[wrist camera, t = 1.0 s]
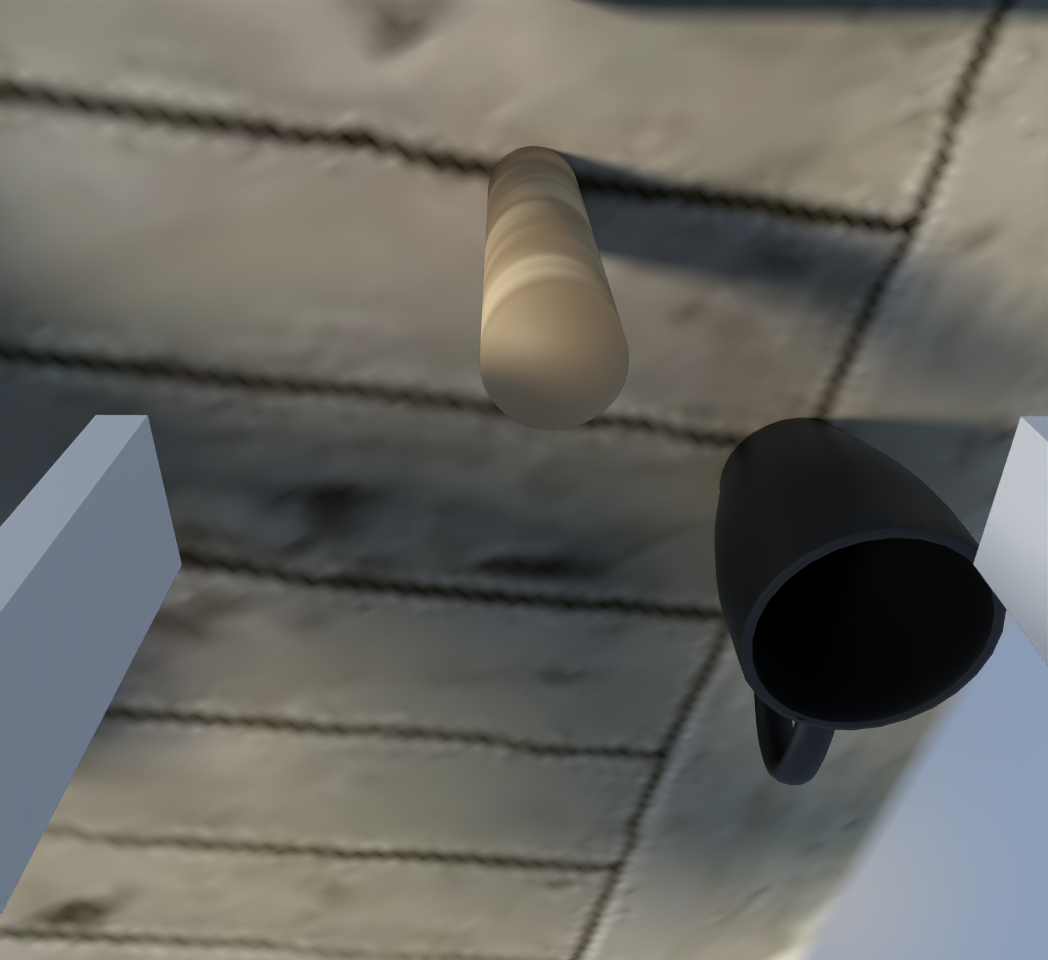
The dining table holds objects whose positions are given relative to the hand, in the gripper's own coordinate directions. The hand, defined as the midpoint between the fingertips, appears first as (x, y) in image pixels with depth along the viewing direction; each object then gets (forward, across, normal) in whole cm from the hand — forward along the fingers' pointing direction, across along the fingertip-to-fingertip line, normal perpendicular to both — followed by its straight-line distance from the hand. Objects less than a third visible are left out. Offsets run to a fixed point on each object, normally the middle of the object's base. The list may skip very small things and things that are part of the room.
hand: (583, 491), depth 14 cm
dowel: (+19, 0, 0) cm, 19 cm away
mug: (+19, +10, -13) cm, 25 cm away
